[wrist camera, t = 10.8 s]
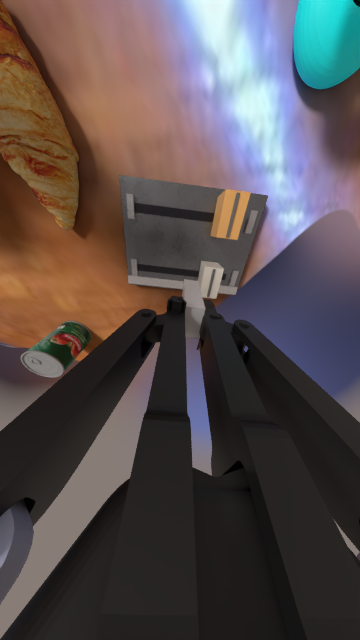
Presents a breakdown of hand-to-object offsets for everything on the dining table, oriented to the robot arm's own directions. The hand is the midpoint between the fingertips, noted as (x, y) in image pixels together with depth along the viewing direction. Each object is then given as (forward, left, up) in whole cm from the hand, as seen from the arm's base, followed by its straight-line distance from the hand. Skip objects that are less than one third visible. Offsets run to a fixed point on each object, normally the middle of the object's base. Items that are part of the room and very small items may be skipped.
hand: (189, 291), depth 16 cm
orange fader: (+5, +8, -13) cm, 16 cm away
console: (0, +3, -15) cm, 15 cm away
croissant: (-23, +14, -15) cm, 31 cm away
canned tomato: (-27, -21, -15) cm, 37 cm away
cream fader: (+4, -1, -12) cm, 13 cm away
